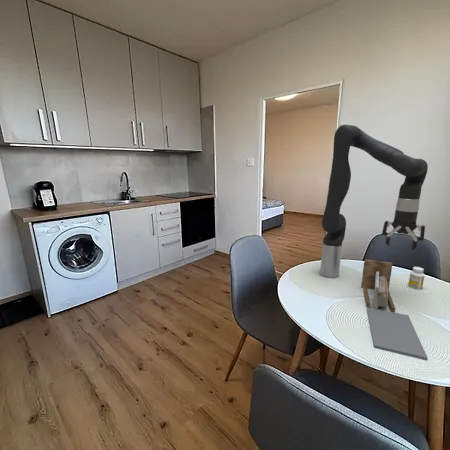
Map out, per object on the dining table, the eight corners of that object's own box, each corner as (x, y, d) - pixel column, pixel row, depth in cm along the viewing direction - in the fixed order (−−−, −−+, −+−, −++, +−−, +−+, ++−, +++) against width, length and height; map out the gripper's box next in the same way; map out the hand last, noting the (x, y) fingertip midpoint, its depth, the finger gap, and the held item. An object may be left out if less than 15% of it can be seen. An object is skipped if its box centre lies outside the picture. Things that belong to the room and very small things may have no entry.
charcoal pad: (373, 347, 81) (374, 345, 81) (366, 309, 103) (366, 307, 102) (427, 360, 76) (427, 357, 76) (407, 316, 97) (408, 315, 97)
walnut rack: (365, 307, 104) (369, 276, 100) (361, 286, 121) (364, 259, 118) (396, 313, 99) (401, 281, 96) (387, 290, 117) (392, 262, 114)
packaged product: (387, 312, 100) (389, 289, 98) (373, 309, 102) (375, 287, 100) (386, 292, 115) (388, 272, 112) (374, 290, 117) (375, 270, 115)
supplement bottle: (417, 284, 123) (420, 266, 120) (424, 290, 117) (428, 270, 115) (405, 284, 123) (408, 265, 121) (412, 289, 118) (415, 270, 116)
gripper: (385, 208, 103) (379, 246, 107) (428, 212, 95) (421, 253, 99) (387, 206, 109) (382, 241, 113) (429, 210, 100) (421, 248, 104)
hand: (400, 247), depth 106 cm, fingers open, 8 cm apart
